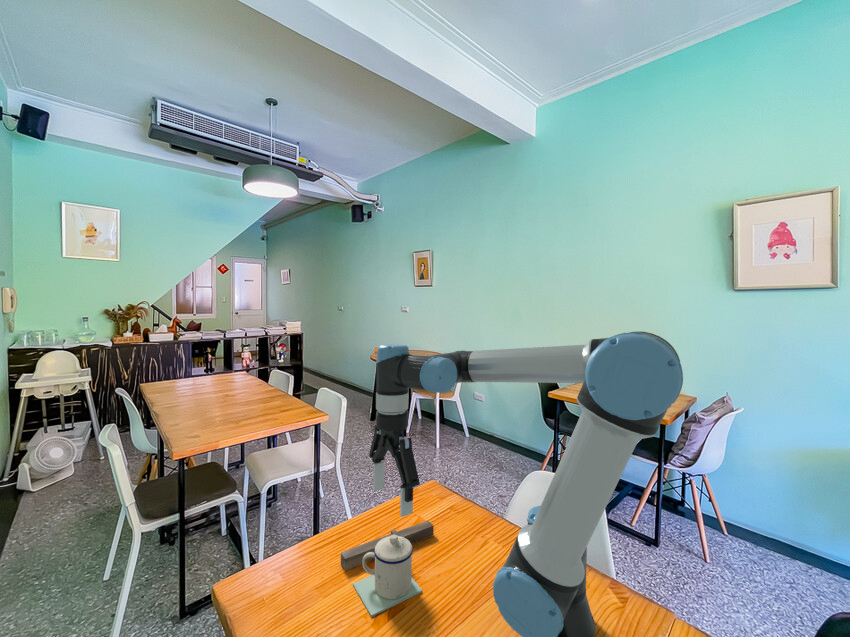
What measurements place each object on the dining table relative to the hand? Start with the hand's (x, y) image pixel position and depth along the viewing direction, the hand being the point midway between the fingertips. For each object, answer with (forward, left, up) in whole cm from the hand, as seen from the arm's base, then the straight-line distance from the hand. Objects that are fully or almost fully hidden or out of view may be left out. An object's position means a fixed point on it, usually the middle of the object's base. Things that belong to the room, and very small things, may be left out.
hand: (391, 500), depth 83 cm
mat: (+1, +1, -21) cm, 21 cm away
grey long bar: (+10, -6, -21) cm, 24 cm away
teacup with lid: (+1, +1, -21) cm, 21 cm away
